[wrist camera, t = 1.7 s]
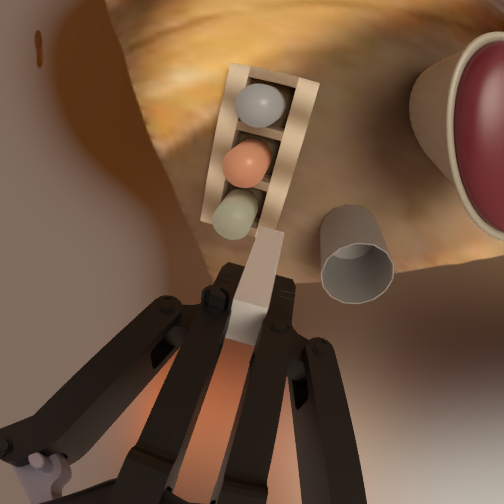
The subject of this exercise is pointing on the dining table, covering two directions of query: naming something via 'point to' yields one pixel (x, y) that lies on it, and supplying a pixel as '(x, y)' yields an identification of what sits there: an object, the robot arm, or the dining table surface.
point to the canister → (466, 126)
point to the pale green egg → (235, 214)
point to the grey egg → (260, 105)
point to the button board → (289, 136)
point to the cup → (354, 256)
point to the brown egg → (247, 163)
